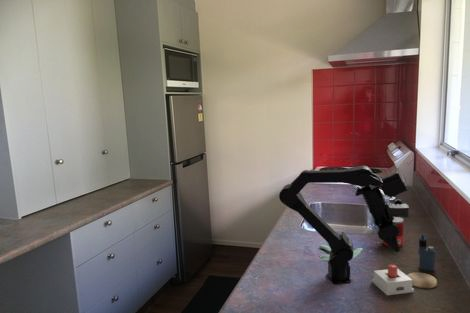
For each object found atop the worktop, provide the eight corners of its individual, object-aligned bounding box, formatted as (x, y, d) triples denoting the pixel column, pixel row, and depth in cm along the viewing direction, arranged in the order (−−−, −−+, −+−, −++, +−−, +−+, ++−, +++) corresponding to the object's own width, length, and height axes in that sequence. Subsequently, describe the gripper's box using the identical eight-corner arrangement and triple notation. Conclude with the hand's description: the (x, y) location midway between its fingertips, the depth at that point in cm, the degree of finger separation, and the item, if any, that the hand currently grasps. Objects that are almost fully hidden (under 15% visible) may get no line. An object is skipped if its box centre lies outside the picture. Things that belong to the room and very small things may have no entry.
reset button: (390, 282, 119) (391, 268, 118) (386, 278, 122) (386, 265, 121) (398, 281, 119) (399, 267, 118) (394, 277, 122) (394, 264, 121)
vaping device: (418, 265, 135) (419, 233, 133) (435, 268, 132) (436, 236, 130) (417, 268, 132) (418, 236, 131) (434, 271, 130) (435, 238, 128)
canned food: (405, 243, 155) (406, 218, 153) (398, 249, 149) (399, 223, 148) (387, 239, 160) (387, 214, 159) (379, 245, 154) (380, 219, 153)
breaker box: (387, 295, 116) (387, 283, 115) (372, 281, 124) (372, 270, 124) (413, 292, 117) (413, 280, 116) (397, 278, 126) (397, 267, 125)
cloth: (318, 265, 140) (318, 259, 140) (309, 243, 162) (309, 237, 161) (373, 263, 139) (373, 257, 139) (357, 241, 161) (357, 236, 160)
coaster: (417, 289, 118) (417, 286, 118) (400, 276, 127) (401, 274, 127) (443, 286, 119) (443, 283, 119) (425, 273, 128) (425, 271, 128)
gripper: (405, 201, 109) (427, 249, 109) (396, 186, 126) (414, 227, 127) (368, 214, 112) (390, 261, 113) (364, 198, 130) (382, 238, 130)
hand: (395, 246), depth 121 cm, fingers open, 9 cm apart
